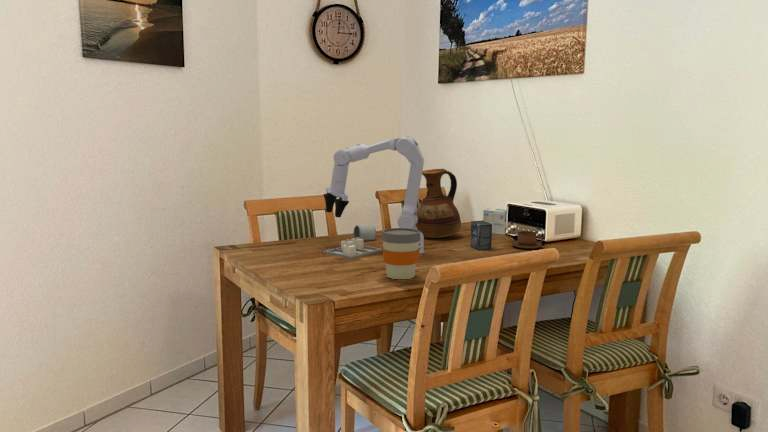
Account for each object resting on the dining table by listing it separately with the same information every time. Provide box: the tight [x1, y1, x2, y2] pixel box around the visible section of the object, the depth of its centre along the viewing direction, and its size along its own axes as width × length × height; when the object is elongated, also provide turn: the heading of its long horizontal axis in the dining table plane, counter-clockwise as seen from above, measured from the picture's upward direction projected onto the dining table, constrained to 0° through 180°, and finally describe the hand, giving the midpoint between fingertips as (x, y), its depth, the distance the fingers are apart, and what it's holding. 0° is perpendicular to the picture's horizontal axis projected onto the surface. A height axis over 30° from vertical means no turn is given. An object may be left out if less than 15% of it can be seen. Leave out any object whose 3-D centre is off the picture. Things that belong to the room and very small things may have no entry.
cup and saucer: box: [511, 230, 544, 250], centre depth 241 cm, size 12×12×6 cm
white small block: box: [350, 237, 365, 249], centre depth 232 cm, size 4×3×4 cm
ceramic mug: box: [352, 224, 377, 242], centre depth 251 cm, size 10×8×7 cm
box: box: [470, 220, 493, 251], centre depth 238 cm, size 8×6×11 cm
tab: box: [343, 243, 356, 256], centre depth 220 cm, size 4×3×4 cm
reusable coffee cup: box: [381, 227, 420, 280], centre depth 194 cm, size 13×13×15 cm
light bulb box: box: [482, 207, 508, 236], centre depth 272 cm, size 11×7×11 cm, turn 58°
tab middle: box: [340, 238, 354, 250], centre depth 228 cm, size 4×3×4 cm
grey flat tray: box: [323, 245, 383, 260], centre depth 226 cm, size 14×18×2 cm
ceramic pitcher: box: [415, 168, 462, 239], centre depth 261 cm, size 20×20×30 cm
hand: (333, 214), depth 234 cm, fingers open, 7 cm apart
